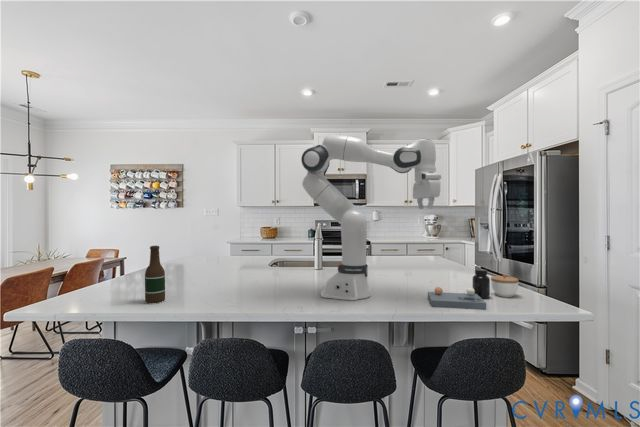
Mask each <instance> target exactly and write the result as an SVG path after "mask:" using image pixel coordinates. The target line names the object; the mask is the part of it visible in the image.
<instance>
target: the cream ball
mask: <svg viewBox="0 0 640 427" xmlns="http://www.w3.org/2000/svg"><path fill="white" fill-rule="evenodd" d="M474 293H475V290H474V289H473V287H467V288H466V294H469V295H473V294H474Z"/></svg>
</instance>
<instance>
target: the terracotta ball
mask: <svg viewBox="0 0 640 427" xmlns="http://www.w3.org/2000/svg"><path fill="white" fill-rule="evenodd" d="M434 292H435V293H436V294H438V295H440V294H442V292H443V289H442V287H440V286H436V287H435V288H434ZM443 293H444V292H443Z"/></svg>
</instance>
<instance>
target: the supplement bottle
mask: <svg viewBox="0 0 640 427" xmlns="http://www.w3.org/2000/svg"><path fill="white" fill-rule="evenodd" d="M474 274H475V275H473V276H472V288H473V289H474V290H475V293H474V294H477V295H478V296H479V297H480V298H482V299H483V300H485V299H486V300H487V299H490V297H491V289H490V287H491V284H490V283H491V278H490V277H489V276H488V269H483V268H481V269H480V268H476V269H475V270H474Z"/></svg>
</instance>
